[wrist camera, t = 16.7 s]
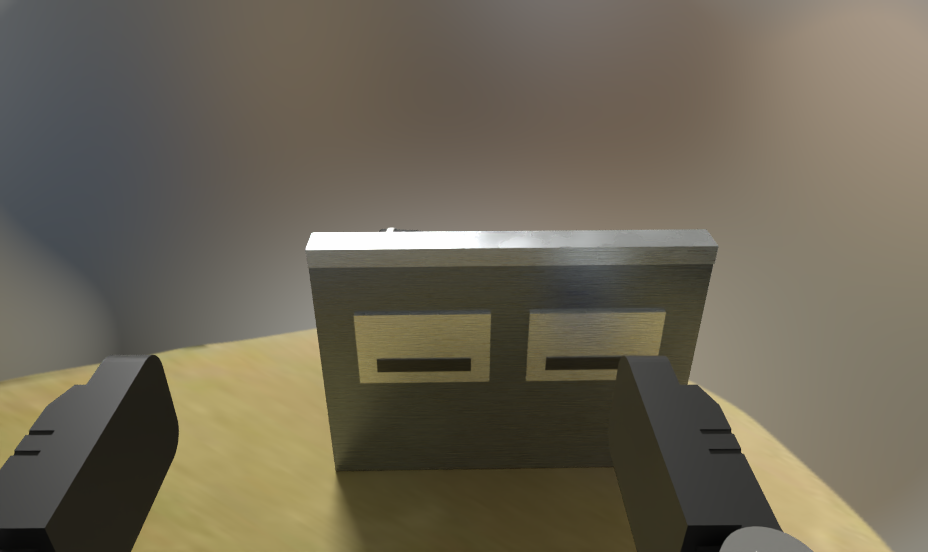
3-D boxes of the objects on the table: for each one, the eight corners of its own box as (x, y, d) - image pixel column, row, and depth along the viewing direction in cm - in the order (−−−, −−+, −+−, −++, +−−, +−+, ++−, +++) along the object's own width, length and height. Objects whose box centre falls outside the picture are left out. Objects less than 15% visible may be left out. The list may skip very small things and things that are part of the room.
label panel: (334, 474, 40) (304, 250, 33) (339, 450, 42) (312, 232, 34) (671, 469, 40) (719, 247, 33) (662, 446, 42) (706, 229, 35)
